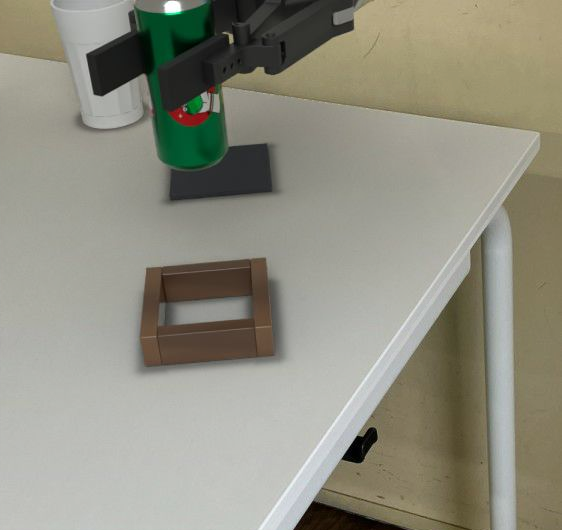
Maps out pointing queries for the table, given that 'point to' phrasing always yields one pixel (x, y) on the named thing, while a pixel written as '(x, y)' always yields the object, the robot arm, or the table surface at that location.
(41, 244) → the table surface
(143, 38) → the soda can
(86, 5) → the cup
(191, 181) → the mat
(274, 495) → the table surface
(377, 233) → the table surface
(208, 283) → the collar stand
